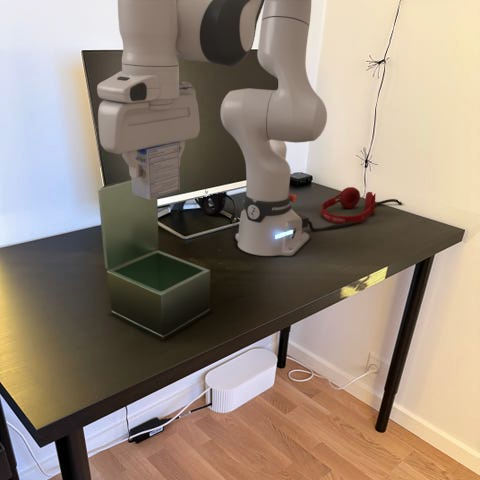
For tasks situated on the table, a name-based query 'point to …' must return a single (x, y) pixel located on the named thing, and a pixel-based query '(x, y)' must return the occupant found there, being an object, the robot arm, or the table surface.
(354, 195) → the headphones
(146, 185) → the medicine box
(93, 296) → the table surface
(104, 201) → the lid
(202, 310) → the green hollow box
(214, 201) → the controller
